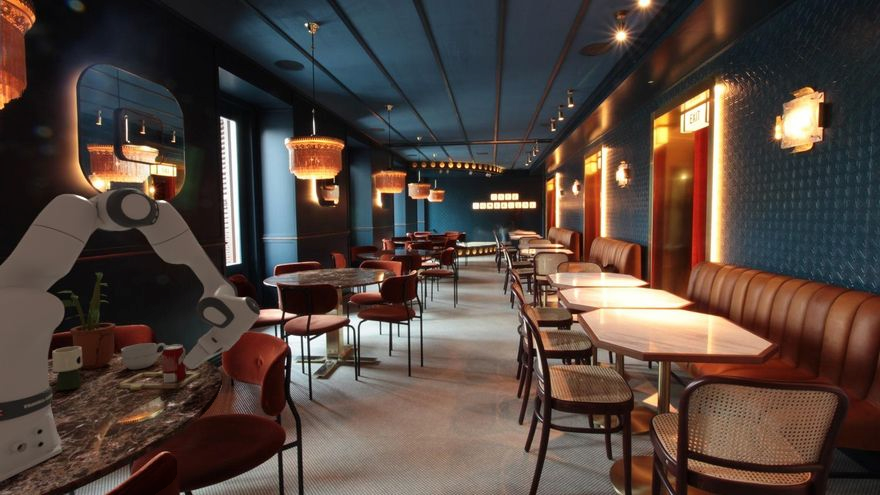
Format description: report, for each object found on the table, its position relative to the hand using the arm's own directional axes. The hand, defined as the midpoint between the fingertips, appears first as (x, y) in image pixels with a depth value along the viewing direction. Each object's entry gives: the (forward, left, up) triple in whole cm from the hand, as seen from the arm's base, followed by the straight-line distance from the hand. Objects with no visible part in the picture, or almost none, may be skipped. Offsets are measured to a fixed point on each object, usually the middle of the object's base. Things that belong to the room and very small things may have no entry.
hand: (193, 366), depth 144 cm
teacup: (+15, +28, -6) cm, 32 cm away
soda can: (0, +7, -5) cm, 9 cm away
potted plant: (+12, +47, -5) cm, 49 cm away
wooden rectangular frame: (0, +12, -5) cm, 13 cm away
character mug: (-7, +37, -5) cm, 38 cm away
